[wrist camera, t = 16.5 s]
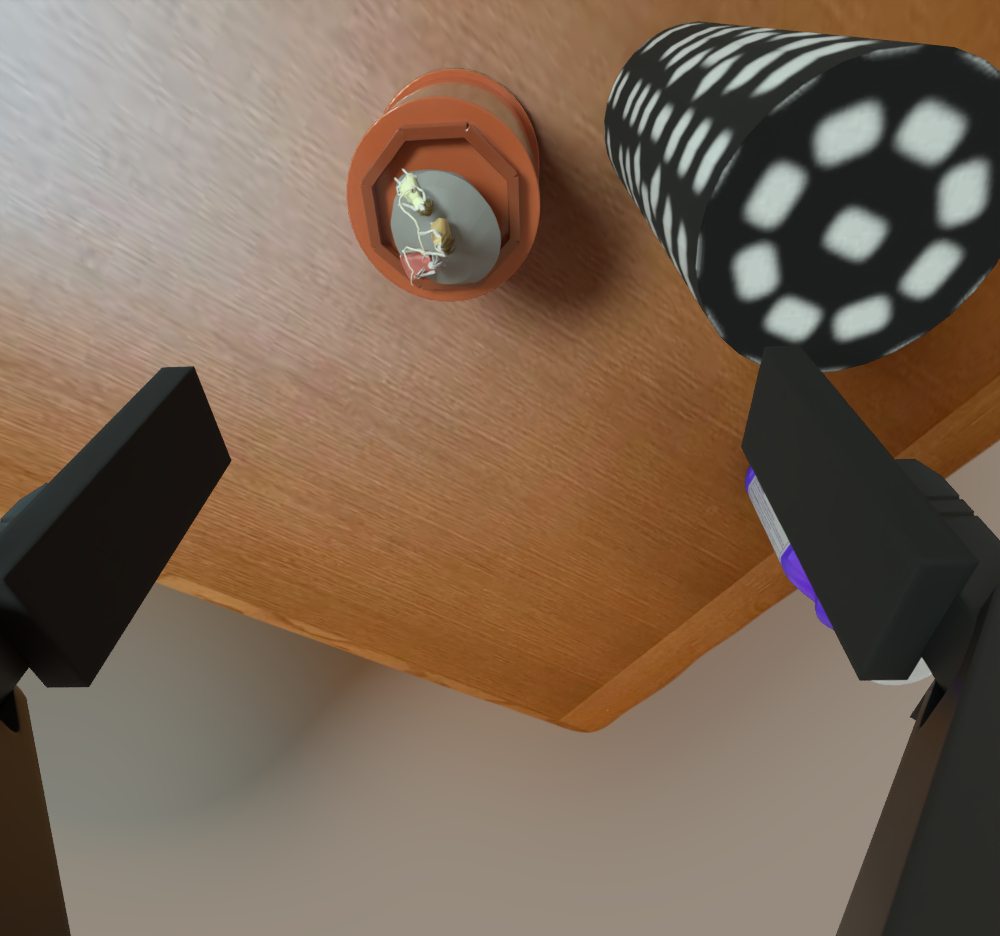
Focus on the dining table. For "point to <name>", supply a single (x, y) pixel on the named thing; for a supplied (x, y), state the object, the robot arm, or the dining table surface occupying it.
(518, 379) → the dining table surface
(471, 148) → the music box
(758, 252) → the white-spotted black cylinder
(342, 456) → the dining table surface
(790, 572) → the bottle
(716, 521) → the dining table surface
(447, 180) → the figurine
